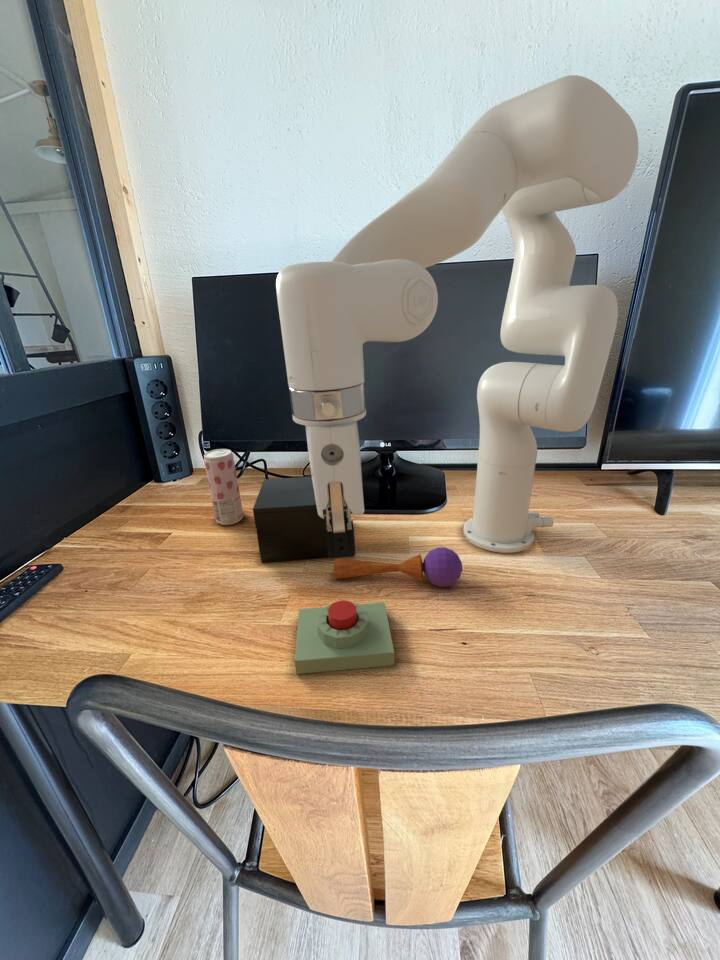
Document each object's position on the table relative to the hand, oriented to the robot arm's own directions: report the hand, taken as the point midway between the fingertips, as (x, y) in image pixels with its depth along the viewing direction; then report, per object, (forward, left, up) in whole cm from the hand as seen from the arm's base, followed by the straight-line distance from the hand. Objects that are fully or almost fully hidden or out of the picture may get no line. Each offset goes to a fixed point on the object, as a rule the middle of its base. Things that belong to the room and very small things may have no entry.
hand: (342, 553), depth 48 cm
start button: (0, 0, -10) cm, 10 cm away
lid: (+6, -26, -4) cm, 27 cm away
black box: (+6, -26, -14) cm, 30 cm away
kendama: (-9, -12, -14) cm, 20 cm away
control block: (0, 0, -14) cm, 14 cm away
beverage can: (+23, -37, -14) cm, 46 cm away
